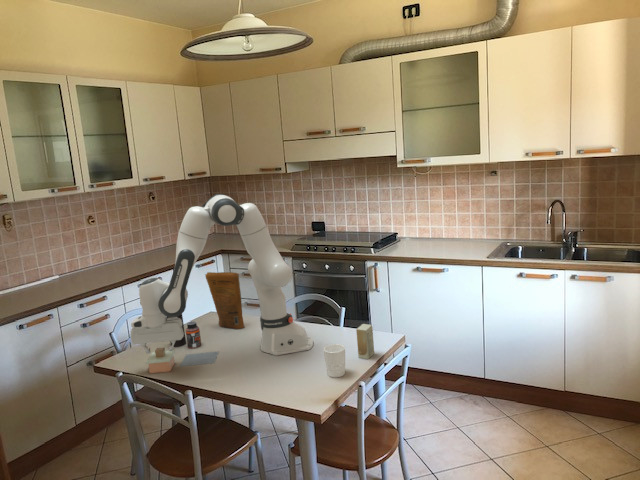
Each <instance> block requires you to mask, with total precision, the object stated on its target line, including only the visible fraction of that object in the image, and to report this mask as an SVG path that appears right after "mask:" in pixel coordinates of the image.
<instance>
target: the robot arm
mask: <svg viewBox="0 0 640 480" xmlns="http://www.w3.org/2000/svg"><path fill="white" fill-rule="evenodd" d="M216 224H217V225H220V226H224V227H226V226H227V227H228V226H236V227H237V229H238V231H239V235H240V237H241V240H242V243H243V246H244V247H245V250H246V252H247V253H248V255H250V257H251V260H250V261H249V263H248V266H247V270H248V271H247V272H248V273H249V275H250V277H251V278H252V281H253V285H254V288H255V291H256V294H257V299H258V303H259V311H260V317H259V321H260V328H261V345H260V350H261V351H262V352H264V353H267V354H271V355H272V356H282V355H286V354H292V353H298V352H304V351H305V352H306V351H308V350H311V349H312V348H313V347H314V340H313V338H312V337H311V336H309V335H308V334H307V331H306V329H305V328H304V327H303V326H302V325H300V324H298V323H297V322H295V321H294V318H293V315H292V313H291V312H290V313H288V312H287V311H288V310H287V302H286V296H285V293H284V292H283V290H282V288H284V287H286V286H288V285H289V283H290V282H291V280H292V277H293V273H292V269H291V268H290V266H289V265H288V264H287V263H286V261H285V260H284V258H283V256H282V255H281V254H280V252H279V251H278V249H277V247H276V245H275V244H274V242H273V239H272V237H271V235H270V232H269V229H268V226H267V224H266V222H265V219H264V217H263V215H262V213H261V211H260V210H259V208H258V206H257V205H255V203H253V202H246V203H243V204H238V203H237V202H236V201H235V200H234V199H233V198H232V197H230V196H228V195H226V194H223V193H216V194H214V195H212V196H211V197H210V198H209V199H208V200H206V202H204V204H203V205H202V206H198V205H197V206H191V207H190V208H188V209H187V211H186V213H185V215H184V216H183V219H182V221H181V224H180V228H179V230H178V233H177V239H176V246H175V249H176V250H175V262H174V268H173V271H172V275H171V276H170V281H169V282H168V281H164V280H163V279H160V278H158V277H153V278H152V277H151V278H149V279H146V280H144V281H143V282H142V283H140V285H139V289H138V290H139V291H138V293H139V294H138V295H139V300H140V301H139V303H140V305H141V308H142V310H141V311H142V312H141V315H140V316H137V317H136V318H134V319H133V320H132V321H131V324H130V325H131V329H130V340H131V341H130V342H131V343H132V344H133V345H141V347H142V349H144V352H145V354H151V353H152V352H151V348H150V347H148V346H147V344H152V343H153V344H154V343H164V342H170V341H171V343H172V346H171V345H169V347H168V351H174V350H175V347H174V344H175V342H176V340H181V339H182V338H183V336H184V332H183V328H182V320H181V319H180V318H178V317H177V316H179V315H181V314H182V315H183V313H184V312H185V310H186V308H187V302H188V301H187V300H188V298H189V297H188V296H189V293H188V289H187V286H188V282H189V279H190V276H191V272H192V270H193V268H194V266H195V264H196V262H197V260H198V259H199V257H200V255H201V254H202V252H203V251H204V248H205V246H206V243H207V240H208V236H209V233H210V231H211V228H212V227H213V226H214V225H216ZM167 317H173V318H167ZM171 343H170V344H171Z"/></svg>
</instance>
